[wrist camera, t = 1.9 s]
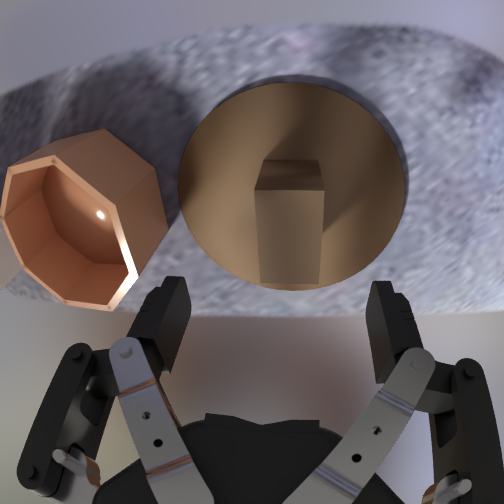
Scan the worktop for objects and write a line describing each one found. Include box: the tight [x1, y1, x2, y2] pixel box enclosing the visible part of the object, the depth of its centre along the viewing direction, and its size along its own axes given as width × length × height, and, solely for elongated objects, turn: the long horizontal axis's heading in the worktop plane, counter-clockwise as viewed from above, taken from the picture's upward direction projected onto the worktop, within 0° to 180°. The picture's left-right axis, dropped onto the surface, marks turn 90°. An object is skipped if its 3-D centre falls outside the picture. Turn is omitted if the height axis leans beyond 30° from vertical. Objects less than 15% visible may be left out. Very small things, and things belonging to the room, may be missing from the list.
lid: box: [178, 82, 405, 291], centre depth 19 cm, size 16×16×6 cm
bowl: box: [0, 128, 169, 311], centre depth 21 cm, size 13×13×6 cm
